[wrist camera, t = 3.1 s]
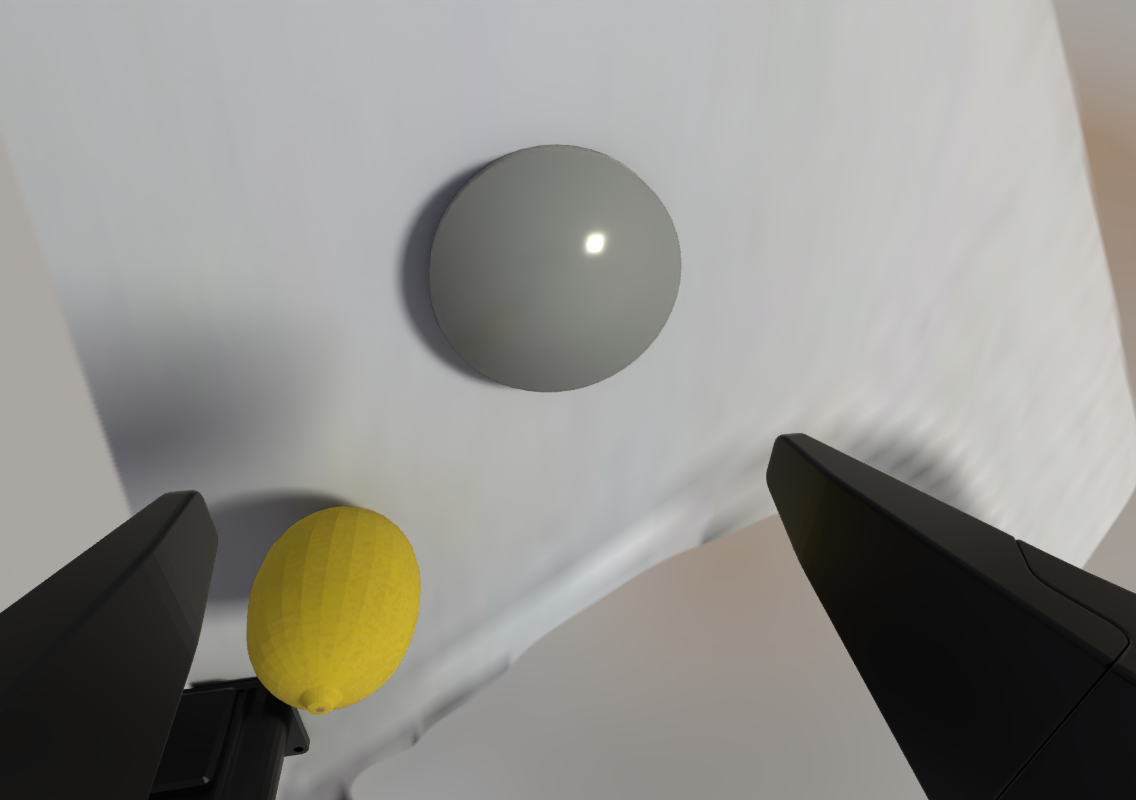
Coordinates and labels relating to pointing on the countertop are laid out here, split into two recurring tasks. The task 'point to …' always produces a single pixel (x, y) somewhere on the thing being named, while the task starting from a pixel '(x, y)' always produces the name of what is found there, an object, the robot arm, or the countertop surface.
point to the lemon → (333, 609)
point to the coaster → (553, 268)
